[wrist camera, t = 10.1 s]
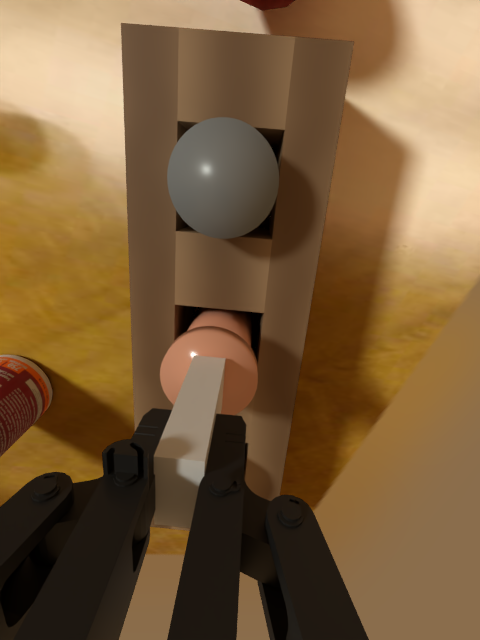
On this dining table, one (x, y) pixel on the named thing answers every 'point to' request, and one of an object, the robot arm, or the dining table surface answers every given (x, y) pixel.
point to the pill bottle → (20, 397)
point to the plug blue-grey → (223, 177)
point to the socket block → (240, 252)
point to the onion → (268, 3)
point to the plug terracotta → (215, 355)
